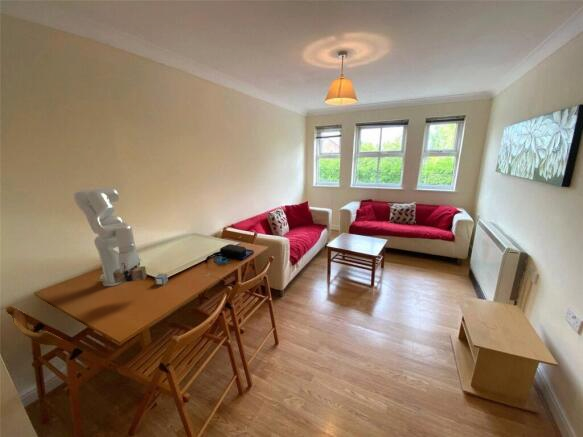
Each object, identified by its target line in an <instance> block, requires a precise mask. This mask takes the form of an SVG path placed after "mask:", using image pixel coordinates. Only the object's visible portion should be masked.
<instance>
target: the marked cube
mask: <svg viewBox="0 0 583 437" xmlns="http://www.w3.org/2000/svg"><path fill="white" fill-rule="evenodd" d="M154 282H155V285H156V286H165V285H166V284H167V283H168V282H169V277H168V273H158V274H157V275H156V276H155V277H154Z"/></svg>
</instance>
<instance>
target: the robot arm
mask: <svg viewBox="0 0 583 437" xmlns="http://www.w3.org/2000/svg"><path fill="white" fill-rule="evenodd" d="M73 197H74V202H75V203H76V205H77V207H78V208H79V209H80V210H81V211H82V213H83V214H84V215H85V217H86V219H87V221H88V224H89V226H90V228H91V230H92V232H93V233H94V234H95V235H97V236H96V237H95V238H94V240H93V241H94V243H93V244H94V246H95V248H96V250H97V252H98V255H99V259H100V260H99V261H100V263H101V267H102V272H103V274H101V275H100V277H99V280H103V282H102V286H104V287H114V286H118V285H121V284H122V283H124V282H122V283H115V280H114V276H113V273H114V272H115V271H116V270H117V269H120V273H122V274H123V275H125V279H126V281H131V282H133V281H132V277H131V274H130V269H131V268H134V267H140V265H141V261H142V259H141V258H140V256H139V252H138V250H137V247H136V243H135V237H134V233H133V228H132V226H131V225H130V224H128V223H127V222H125V221H123V219H122V218H121V217H120V216H119V215H117V214H116V215H115V214H114V213H115V212H116V209H115V206H114V205H113V204H112V203H117V202H119V200H120V195H119V192H118V191H117V190H116V189H115V188H114V187H113V188H112V187H100V188H89V189H82V190H79V191H76V192H75V193H74V195H73ZM113 214H114V215H113ZM115 248H118V251H117V250H115ZM126 268H127V269H126ZM126 270H128V272H126Z"/></svg>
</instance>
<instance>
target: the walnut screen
mask: <svg viewBox="0 0 583 437" xmlns="http://www.w3.org/2000/svg"><path fill="white" fill-rule="evenodd" d="M126 269H127V268H126ZM126 272H128V270H126ZM130 274H131V277H132V281H126V279H125V275H123V274H122V273H120V269H117V270H116V271H115V272H114V273H113V276H114V280H115V283H121V284H122V282H123V283H130V282H140V281H144V280H146V278H147V276H148V275H147V270H146V266H139V267H134V268H131V269H130Z"/></svg>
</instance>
